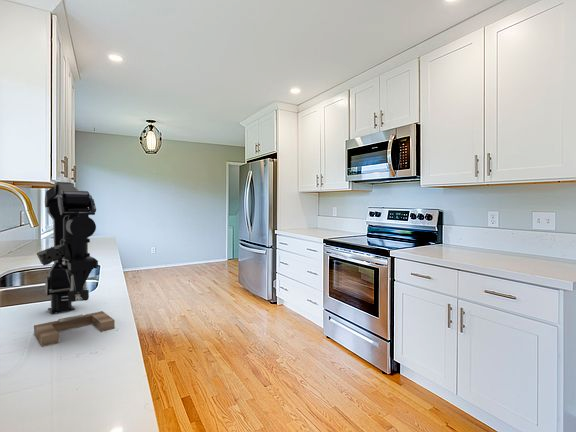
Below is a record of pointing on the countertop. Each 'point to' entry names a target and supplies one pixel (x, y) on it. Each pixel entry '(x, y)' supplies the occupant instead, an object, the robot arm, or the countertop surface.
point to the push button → (75, 295)
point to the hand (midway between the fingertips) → (75, 290)
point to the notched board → (71, 326)
